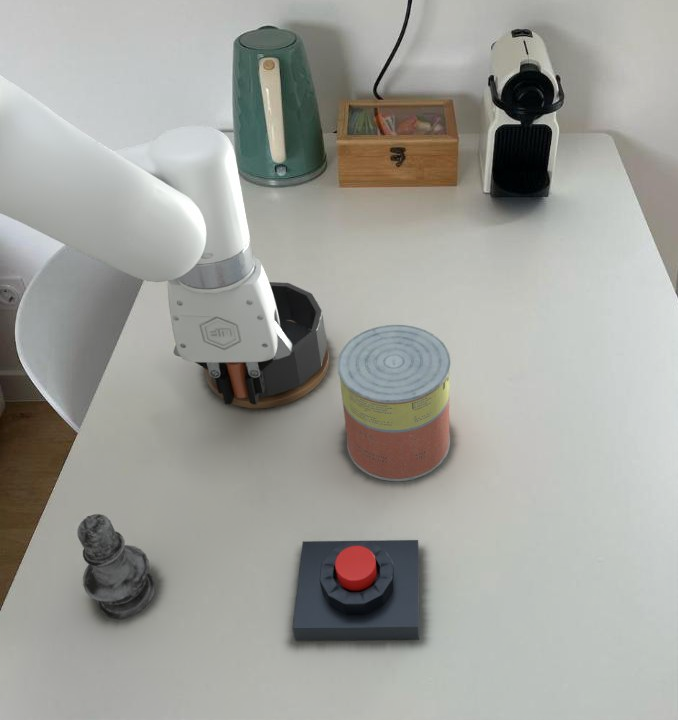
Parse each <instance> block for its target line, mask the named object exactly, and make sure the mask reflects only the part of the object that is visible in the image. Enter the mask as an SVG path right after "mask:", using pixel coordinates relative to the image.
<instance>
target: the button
mask: <svg viewBox="0 0 678 720" xmlns="http://www.w3.org/2000/svg"><path fill="white" fill-rule="evenodd" d="M335 569H336V575H337V579H338V582H339V583H340V584H341V586H343V587H344V588H346V589H348V590H351V591H360V590H363V589H366V588H367V587H369V586H370V585H371V584H372V583H373V582H374V580H375V578H376V575H377V569H376V560H375V556H374V555H373V553H372V552H371V551H370V550H369V549H367V548H365V547H362V546H351V547H348V548H346V549H344V550H343V551H341V552H340V553H339V555H338V556H337V558H336V561H335Z"/></svg>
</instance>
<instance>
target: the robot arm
mask: <svg viewBox="0 0 678 720" xmlns="http://www.w3.org/2000/svg"><path fill="white" fill-rule="evenodd" d="M0 214H1V215H4V216H5V217H7V218H10V219H12V220H14V221H17V222H18V223H21V224H23V225H25V226H27V227H29V228H31V229H33V230H35V231H37V232H39V233H42V234H43V235H46V236H47V237H49V238H51V239H53V240H55V241H57V242H59V243H61V244H63V245H65V246H67V247H69V248H71V249H73V250H75V251H77V252H79V253H81V254H83V255H85V256H88V257H90V258H92V259H94V260H96V261H98V262H101V263H103V264H105V265H108V266H109V267H112V268H113V269H116V270H118V271H121V272H123V273H125V274H127V275H129V276H131V277H134V278H136V279H139V280H141V281H144V282H153V283H162V282H164V283H165V282H167V297H168V298H167V299H168V307H169V308H168V309H169V314H170V321H171V322H170V323H171V327H172V333H173V338H174V343H175V345H174V348H173V354H174V355H175V356H176V357H179V358H182V359H183V360H185V361H187V362H191V363H195V364H197V365H199V366H200V367H202V368H204V370H205V369H207V370H208V371H209V374H210V376H211V377H214V378H215V381H216V385H217V389H218V392H219V393H222V394H223V398H224V400H223V403H224V405H232V404H231V403H232V402H233V398H234V394H233V391H232V387H231V383H230V379H229V375H228V371H227V367H226V363H225V362H246V364H247V372H246V376H245V383H246V387H247V392H248V397H249V401H250V403H251V404H257V402H258V397H259V393H264V388H265V382H264V377H263V372H262V370H264V369H265V368H266V367H267V366H268V365H269V364H271V363H272V362H273V360H275V359H276V360H277V359H280V358H283V357H286V356H289V355H290V354H291V350H292V343H291V342H290V340H289V339H288V338H287V336H286V335H285V334H284V332H283V331H282V329H281V328H280V321H279V315H278V311H277V307H276V303H275V299H274V296H273V292H272V289H271V286H270V283H269V282H270V281H269V278H268V276H267V274H266V271H265V268H264V267H263V264H262V263H261V261H260V259H259V258H258V257H255V256H254V251H253V247H252V241H251V237H250V230H249V224H248V220H247V214H246V209H245V203H244V197H243V193H242V186H241V180H240V175H239V170H238V164H237V157H236V154H235V149H234V146H233V144H232V142H231V140H230V139H229V137H228V136H227V135H226V134H224V133H223V132H222V131H221V130H219V129H216V128H214V127H211V126H206V125H197V124H196V125H184V126H179V127H174V128H171V129H168V130H166V131H164V132H162V133H160V134H158V135H157V136H156V137H155V138H154V139H152V140H151V141H148V142H144V143H140V144H135V145H131V146H127V147H122V148H117V149H111V148H109V147H108V146H106V145H104V144H103V143H101V142H100V141H98V140H96V139H95V138H93V137H91V136H90V135H89V134H87V133H85V132H84V131H82V130H81V129H79V128H78V127H76V126H75V125H73V124H71V122H69V121H67V120H66V119H64V118H63V117H61V116H60V115H59V114H57V113H56V112H54V110H52V109H51V108H49V107H48V106H47V105H46V104H44V103H43V102H41V101H40V100H38V99H37V98H35V97H34V96H33V95H31V94H30V93H28V92H27V91H26V90H24V89H23V88H21V87H20V86H18V85H17V84H15V83H13V82H11V81H10V80H8V79H7V78H5V77H4V76H2V75H1V74H0ZM264 344H265V345H264Z"/></svg>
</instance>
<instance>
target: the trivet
mask: <svg viewBox="0 0 678 720" xmlns="http://www.w3.org/2000/svg"><path fill="white" fill-rule="evenodd" d="M287 321H292V320H287ZM292 322H294V321H292ZM309 330H310V329H309ZM329 366H330V352H329V347H328V345H327V348H326V352H325V356H324V360H323V363H322V367H321V369H319V370H318V371H317V372H316V373H315V374H314V375H313V376H311V377H310V378H309V379H308V380H307V381H306V382H305V383H303V384H302V385H301V386H299V387H297V388H294V389H291V390H289V391H286V392H283V393H280V394H276V395H272V396H269V397H258V402H257V404H251V403H250V401H249V397H248V396H247V397H245V398H237V397H235V396H234V398H233V402H232V403H231V404H230V405H234V406H237V407H241V408H246V409H270V408H275V407H280V406H284V405H287V404H290V403H293V402H295V401H297V400H300V399H302V398H303V397H305V396H307V395H308V394H309V393H311V392H312V391H313V390H314V389H316V388H317V387H318V386H319V384H320V383H321V382H322V381H323V380H324V378H325V377H326V375H327V373H328V370H329ZM204 375H205V378H206V382H207V384H208V387H209V388H210V389H211V391H212V392H213V393H214V394H215V395H216V396H217V397H218V398H220V399H221V400H223V401H224V398H223V394H222V393H219V392H218V389H217V385H216V384H215V383H213V382H212V381H211V379H210V376H209V373H208V371H207V369H205V368H204Z"/></svg>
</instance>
